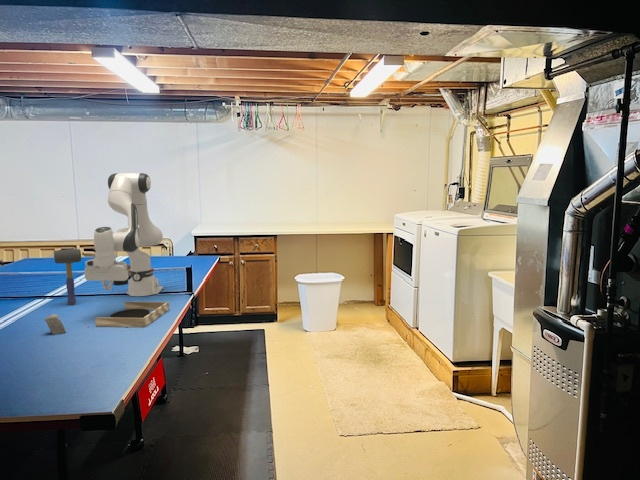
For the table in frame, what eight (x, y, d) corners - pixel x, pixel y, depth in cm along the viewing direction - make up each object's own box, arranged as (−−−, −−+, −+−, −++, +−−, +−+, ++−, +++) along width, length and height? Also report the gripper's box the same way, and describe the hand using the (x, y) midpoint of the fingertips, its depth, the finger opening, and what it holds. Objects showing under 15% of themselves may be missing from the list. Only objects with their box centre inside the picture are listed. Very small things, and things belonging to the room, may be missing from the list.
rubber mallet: (85, 301, 253) (80, 247, 249) (84, 304, 247) (80, 249, 243) (59, 304, 248) (54, 249, 244) (58, 307, 241) (53, 251, 237)
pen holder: (131, 282, 300) (130, 267, 298) (124, 285, 291) (123, 270, 289) (117, 282, 301) (116, 267, 299) (109, 285, 291) (108, 269, 290)
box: (125, 309, 237) (125, 301, 236) (169, 309, 235) (168, 302, 235) (95, 326, 209) (95, 317, 209) (144, 327, 208) (144, 318, 207)
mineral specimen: (59, 326, 207) (60, 310, 205) (67, 334, 202) (68, 317, 200) (41, 330, 202) (42, 313, 200) (49, 338, 196) (50, 321, 195)
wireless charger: (154, 312, 232) (154, 308, 231) (142, 323, 214) (142, 319, 214) (118, 313, 231) (118, 309, 231) (104, 324, 213) (103, 320, 213)
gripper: (129, 260, 222) (131, 287, 224) (89, 259, 224) (91, 287, 226) (123, 262, 216) (125, 291, 218) (81, 262, 217) (84, 290, 219)
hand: (107, 289), depth 222 cm, fingers closed
